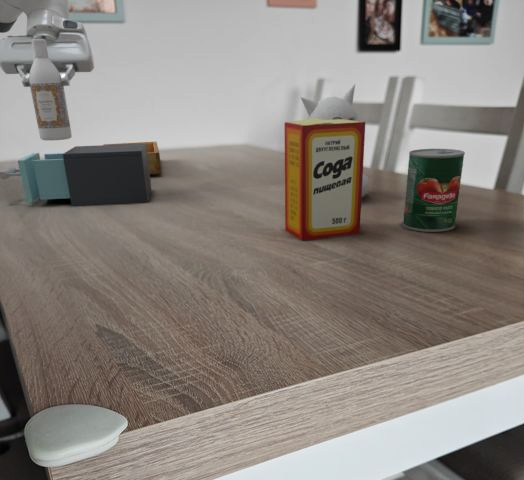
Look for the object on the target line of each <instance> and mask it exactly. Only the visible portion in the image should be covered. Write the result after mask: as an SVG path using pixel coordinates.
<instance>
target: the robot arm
mask: <svg viewBox="0 0 524 480" xmlns="http://www.w3.org/2000/svg"><path fill="white" fill-rule="evenodd" d="M69 11H70V10H69V0H0V34H3V33H4V34H6V33H8V32H10V30H11V29H12V28H13V26H14V24H15V23H16V22H17V20H18V18H19V17H20V16H21V15H22V14H25V16H26V35H25V34H24V35H7V36H6V37H4V38H1V39H0V69H1V70H2V72H3V73H5V74H6V75H19V76H20V78H21V83H22V86H23V87H24V88H30V82H29V75H30V70H31V67H32V64H33V62H34V60H35V57H34V52H33V47H32V41H31V40H32V39H45V40H46V44H47V50H48V56H49V57H48V58H49V59H50V60H51V62H52V63H53V64H54V66H55V67H56V68H57V70H58V71H59V73H60V75H61V83H62V85H63V86H64V87H70V85H71V80H72V79H73V78H74V77H75V75H76V73H91V72H92V71H93V70H94V69H95V60H94V56H93V52H92V49H91V48H92V47H91V45H90V44H91V43H90V41H89V38H88V35H87V34H88V33H87V31H86V29H85V26H84V24H83V23H82V22H80V21H76V20H71V19H69Z"/></svg>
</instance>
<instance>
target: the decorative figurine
mask: <svg viewBox="0 0 524 480" xmlns="http://www.w3.org/2000/svg"><path fill="white" fill-rule="evenodd" d="M355 89H356V83H354V84H353V85H352V86H351V88H350V89H349V90H348V91H347V92H346V93H345V94H344V95H343V96H342V97H338V96H327V97H325V98H323V99H321V100H319V101H314V100H311V99H308V98H305V97H301V96H300V100H301V101H302V104H303V106H304V108H305V110H306V113H307V115H308V116H307V119H314V118H317V119H321V120H335V119H346V120H354V121H359V119H358V114H357V112H356V109H355V108H354V106H353V103H354V95H355ZM307 119H306V120H307ZM370 185H371V184H370V179H369V177H368V176H367V175H366V173H364V172H363V178H362V198H363V197H365V196H366V194H368V192H369V190H370Z"/></svg>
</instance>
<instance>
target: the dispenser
mask: <svg viewBox="0 0 524 480" xmlns="http://www.w3.org/2000/svg"><path fill="white" fill-rule="evenodd" d="M63 153H64V154H63V160H64V165H65V171H66V177H67V182H68V188H69V193H70V198H69V199H70V203H71V207H75V206H94V205H116V204H133V203H134V204H135V203H137V204H138V203H148V202H149V199H150V196H151V193H152V181H151V174H150V172H149V163H148V154H147V145H146V144H124V145H104V144H102V145H78V146H77V145H75V146H74V147H72V148H70V149H68V150H67V151H65V152H63Z"/></svg>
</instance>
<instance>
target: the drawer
mask: <svg viewBox="0 0 524 480" xmlns="http://www.w3.org/2000/svg"><path fill="white" fill-rule="evenodd" d="M64 153H65V152H61V153H60V152H59V153H58V152H57V153H44V155H43V156H44V159H41V156H40V152H33V153H30V154H29V155H26V156H24V157H22V158H20V159H17V164H18V168H16V167H14V166H10V167H8V168H6V169H4V170H2V171H0V179H1V180H7V179H9V178H12V177H14V178H15V177H20V179H21V182H22V188H23V193H24V197H25V202H26V203H27V204H28V203H34V202H35V201H36V200H38V199H39V200H40V201H42V200H43V201H44V200H62V199H70V193H69V188H68V182H67V177H66V171H65V165H64V160H63V154H64Z"/></svg>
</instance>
